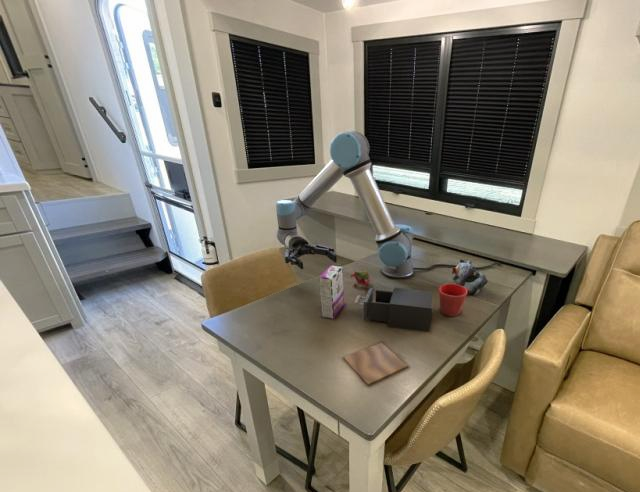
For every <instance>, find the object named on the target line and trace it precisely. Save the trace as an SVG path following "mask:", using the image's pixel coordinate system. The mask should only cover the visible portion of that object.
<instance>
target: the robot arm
mask: <svg viewBox="0 0 640 492" xmlns="http://www.w3.org/2000/svg"><path fill="white" fill-rule="evenodd" d="M369 154H370V144H369V140H368V139H367V137H366V136H365V134H363V133H361V132H359V131H355V130H353V131H343V132H340V133H338V134H337V135H335V136H334V137H333V139H332V140H331V142H330V145H329V155H330V158H331V160H330V161H329V162H328V163H327V164H326V166H324V167H323V168H322V170H321V171H320V172H319V173H318V174H317V175H316V176H315V177H314V178H313V179H312V180H311V181H310V183H308V185H306V187H305V188H304V189H303V190H302V191H301V192H300V193H299V194H298V195H297V196H296V197H295V199H293V200H289V199H282V200H278V201H276V204H275V213H276V219H277V226H278V227H277V228H278V229H277V230H276V234H275V235H276V239H277V240H278V241H279V243H280V244H281V245H283V246H284V247H285V255H284V261H285V262H284V263H285V264H289V263H290V265H291V266H297V267H298V268H299V269H300V270H304V262H303V261H302V260H301V259H299V258H301V257H302V256H305V255H318V256H319V255H320V256H326V257H327V258H328V259H329V260H331V261H332V262H333V263H337V262H338V259H337V258H338V257H337V255H336V254H335V248H334V247H330V246H326V245H323V244H320V243H316V242H315V243H314V245H312V244H309V242H308V240H307V239H306V238H303V236H302V235H300V234H299V233H298V227H297V220H299V219H301V218H302V217H304V216H306V215H307V214H308V213H309V212H310V211H311V209H312V208H313V207H314V206H315V205H316V204H317V203H318V202H319V201H320V200H321V199H322V198H323V197H324V196H325V195H326V194H327V193H328V192H329V191H330V190H331V189H332V188H333V186H335V185H336V184H337V183H338V181H340V179H342V178H343V177H345V178H348V179H349V180H350V182H351V184H352V186H353V188H354V190H355V193H356V195H357V197H358V199H359V201H360V203H361V206H362V208H363V209H364V211H365V213H366V216H367V218H368V221H369V222H370V224H371V226H372V228H373V230H374V233H375V238H374V241H375V243H376V245H377V248H378V249H379V250H378V257H379V259H380V261H381V262H382V266H381V273H382V275H383V276H385V277H386V278H387V277H388V278H391V279H397V280H401V279H402V280H403V279H408V278H411V277H412V276H413V275H414V271H415V270H417V271H418V270H419V271H428V270H431V269H433V268H435V267H449V268H456V267H457V266H458V264H457V265H456V264H446V263H436V264H432V265H430V266H429V267H413V262H412V258H411V257H412V247H413V236H414V228H413V227H412V226H410V225H405V224H395V222H394V220H393V217H392V216H391V213H390V210H389V209H388V206H387V204H386V202H385V200H384V197H383V195H382V192H381V191H380V188H379V185H378V184H377V182H376V179H375V177H374V174H373V173H372V171H371V166H372V161H371V159H370V156H369ZM495 265H498V266H501V265H502V264H501V263H500V262H499V261H496V262H493V263H492V264H488V265H485V266H475V268H476V270H483V269H487V268H491V267H493V266H495Z"/></svg>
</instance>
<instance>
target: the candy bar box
mask: <svg viewBox="0 0 640 492" xmlns="http://www.w3.org/2000/svg"><path fill="white" fill-rule="evenodd" d="M318 282H319V294H320V306H321V317H322V318H327V319H333V320H334V319H335V318H336V316H337V315H338V314H339V312H340V311H341V309H343V307H344V305H345V294H344V293H345V292H344V290H345V289H344V269H343V266H340V265H332V264H331V265H330V266H328V268H327V269H326V270H325V271H324V272H323V273H321V275H320V276H319V277H318Z"/></svg>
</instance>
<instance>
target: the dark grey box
mask: <svg viewBox="0 0 640 492" xmlns="http://www.w3.org/2000/svg"><path fill="white" fill-rule="evenodd" d="M392 292H393V294H392V297H391V301H390V305H389V322H388V323H387V325H388V326H387V327H388V328H396V329H403V330H404V329H405V330H413V331H421V332H430V325H431V318H432V317H431V316H432V308H433V297H434V296H433V294H434V291H430V290H421V289H411V288H404V287H403V288H402V287H394V288H393V290H392Z"/></svg>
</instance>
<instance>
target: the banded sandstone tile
mask: <svg viewBox="0 0 640 492" xmlns="http://www.w3.org/2000/svg"><path fill="white" fill-rule="evenodd" d="M343 359H344V360H345V361H346V362H347V364H348V365H349V366H350V367H351V368H352V370H354V372H356V373H357V374H358V376H359V377H360V378H361V379H362V381H364V383H365V384H366V385H367V386H370V385H372V384H374V383H377V382H379V381H381V380H383V379H386V378H388V377H390V376H392V375H394V374H396V373H398V372H400V371H402V370H405V369H407V368H408V365H407V364H406V363H405V362H404V361H403V360H402V359H401V358H400V357H399V356H397V355H396V354H395V353H394V352H393V351H392V350H391V349H389V348H388V347H387V346H386V345H385V344H384V343H383V342H379V343H376V344H374V345H370V346H368V347H366V348H363V349H361V350H358V351H355V352H353V353H351V354H348V355H344V356H343Z"/></svg>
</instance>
